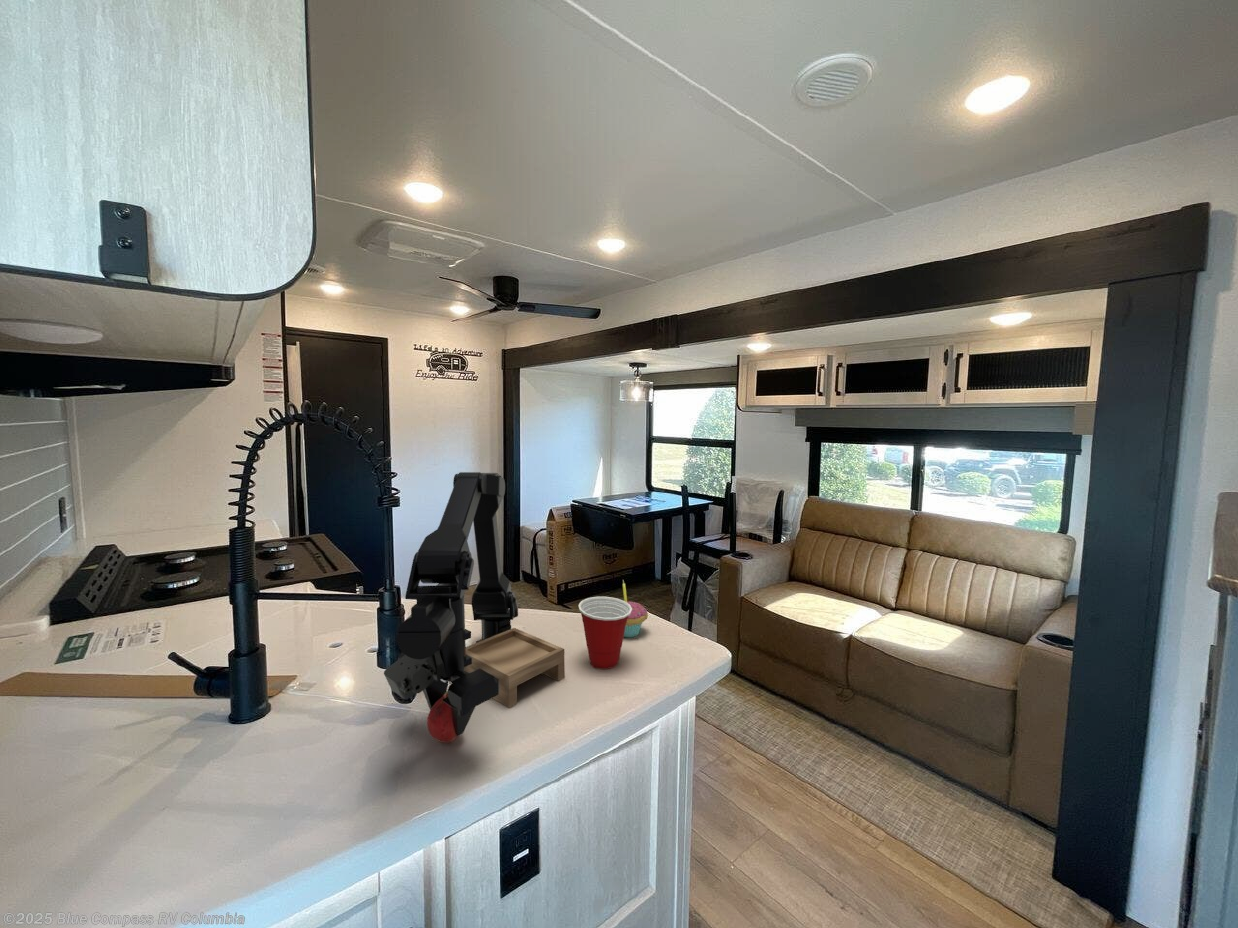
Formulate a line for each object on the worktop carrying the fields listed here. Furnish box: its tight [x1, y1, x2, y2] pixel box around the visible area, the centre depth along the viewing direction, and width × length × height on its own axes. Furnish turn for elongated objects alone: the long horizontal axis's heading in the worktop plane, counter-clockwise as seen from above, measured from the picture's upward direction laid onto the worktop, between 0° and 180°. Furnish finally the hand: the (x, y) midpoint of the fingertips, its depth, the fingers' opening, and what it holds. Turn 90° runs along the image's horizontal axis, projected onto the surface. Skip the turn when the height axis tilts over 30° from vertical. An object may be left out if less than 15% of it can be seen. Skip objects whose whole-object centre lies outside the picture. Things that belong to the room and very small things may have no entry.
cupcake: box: [622, 579, 649, 638], centre depth 113 cm, size 9×8×12 cm
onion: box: [426, 690, 459, 743], centre depth 75 cm, size 6×6×8 cm
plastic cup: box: [578, 596, 632, 670], centre depth 99 cm, size 11×11×12 cm
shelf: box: [464, 627, 566, 709], centre depth 93 cm, size 15×13×6 cm
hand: (448, 725), depth 75 cm, fingers closed on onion, 6 cm apart
